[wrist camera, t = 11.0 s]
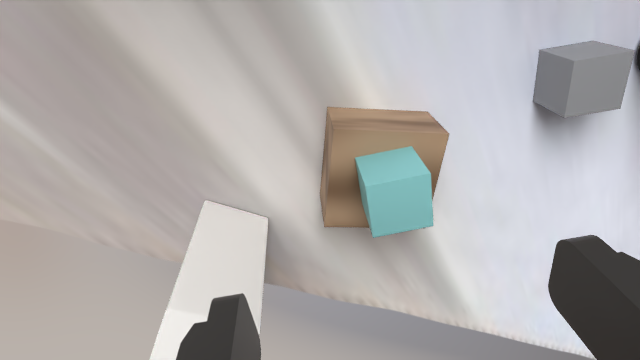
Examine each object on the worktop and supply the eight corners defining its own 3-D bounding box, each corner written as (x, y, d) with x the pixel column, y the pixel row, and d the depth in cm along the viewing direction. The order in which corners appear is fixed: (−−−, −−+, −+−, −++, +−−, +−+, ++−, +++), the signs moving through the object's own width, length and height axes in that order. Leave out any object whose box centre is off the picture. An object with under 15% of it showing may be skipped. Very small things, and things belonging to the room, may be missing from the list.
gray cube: (538, 49, 35) (574, 61, 31) (591, 40, 35) (634, 50, 31) (532, 100, 38) (564, 118, 34) (581, 92, 38) (620, 108, 33)
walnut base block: (327, 106, 37) (333, 129, 31) (426, 110, 38) (449, 133, 32) (319, 194, 42) (324, 226, 36) (408, 196, 43) (425, 228, 37)
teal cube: (354, 157, 33) (365, 186, 29) (411, 146, 33) (430, 173, 28) (362, 204, 35) (373, 237, 31) (415, 193, 35) (433, 225, 31)
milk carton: (249, 263, 45) (227, 434, 29) (189, 248, 43) (129, 420, 27) (268, 217, 42) (257, 378, 26) (205, 198, 40) (148, 358, 24)
